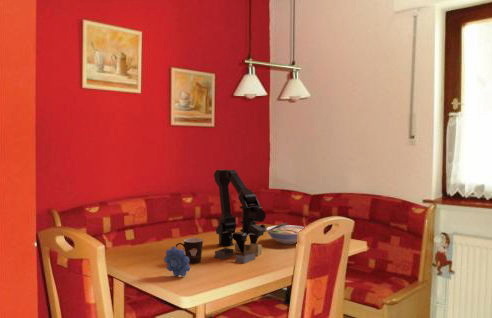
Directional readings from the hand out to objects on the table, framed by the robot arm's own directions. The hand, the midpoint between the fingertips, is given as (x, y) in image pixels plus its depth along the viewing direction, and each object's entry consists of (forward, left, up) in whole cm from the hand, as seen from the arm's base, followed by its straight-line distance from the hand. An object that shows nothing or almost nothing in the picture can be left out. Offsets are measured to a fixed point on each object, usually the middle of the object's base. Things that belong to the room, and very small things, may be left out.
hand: (247, 250), depth 218 cm
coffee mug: (-13, -27, -1) cm, 30 cm away
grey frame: (0, -11, -1) cm, 11 cm away
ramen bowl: (+5, +30, -2) cm, 31 cm away
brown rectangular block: (0, 0, -2) cm, 2 cm away
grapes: (-3, -47, -1) cm, 47 cm away
